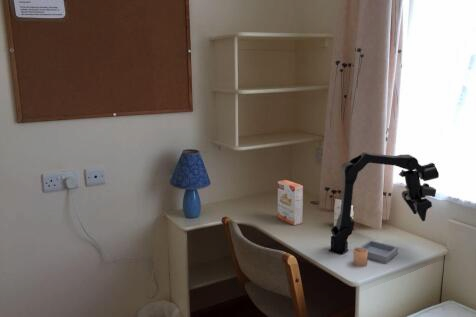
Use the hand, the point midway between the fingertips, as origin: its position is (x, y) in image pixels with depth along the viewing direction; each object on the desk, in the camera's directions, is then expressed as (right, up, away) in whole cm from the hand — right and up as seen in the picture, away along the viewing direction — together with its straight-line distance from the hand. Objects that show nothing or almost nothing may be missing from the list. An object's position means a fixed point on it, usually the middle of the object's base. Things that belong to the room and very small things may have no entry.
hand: (419, 217), depth 190 cm
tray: (-19, -16, -1) cm, 25 cm away
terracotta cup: (-28, -18, -9) cm, 35 cm away
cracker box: (-52, -8, +41) cm, 67 cm away
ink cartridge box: (-25, -10, +32) cm, 42 cm away
